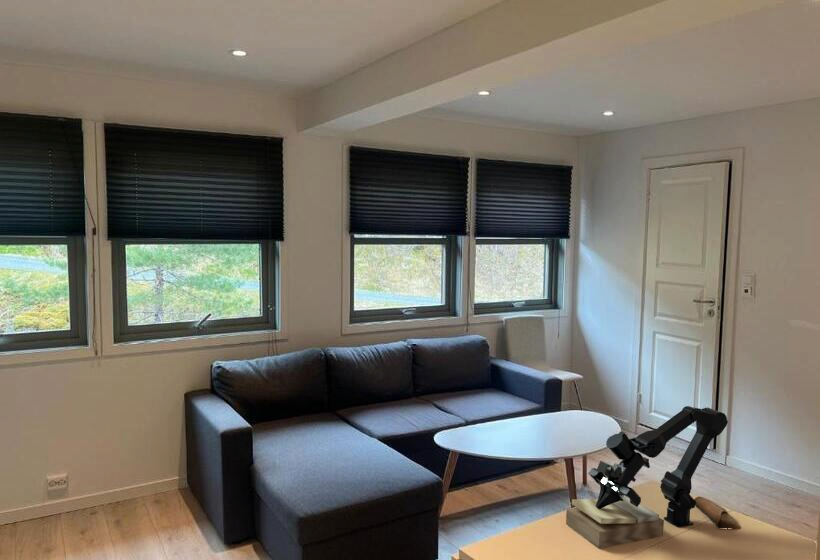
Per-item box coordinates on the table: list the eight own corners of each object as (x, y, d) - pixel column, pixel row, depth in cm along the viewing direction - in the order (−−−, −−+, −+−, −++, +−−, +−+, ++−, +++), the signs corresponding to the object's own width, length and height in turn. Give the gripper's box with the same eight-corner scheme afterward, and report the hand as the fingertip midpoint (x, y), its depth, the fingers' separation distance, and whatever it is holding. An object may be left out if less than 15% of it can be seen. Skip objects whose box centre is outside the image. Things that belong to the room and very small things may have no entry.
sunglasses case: (745, 529, 187) (735, 511, 187) (725, 540, 188) (715, 522, 187) (717, 505, 205) (708, 488, 205) (699, 514, 206) (690, 498, 205)
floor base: (626, 514, 197) (627, 494, 196) (663, 536, 182) (664, 515, 181) (565, 524, 188) (566, 504, 188) (598, 548, 173) (599, 527, 173)
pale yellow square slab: (604, 504, 192) (605, 499, 192) (635, 523, 179) (636, 518, 179) (571, 503, 187) (572, 499, 187) (600, 523, 174) (601, 518, 174)
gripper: (594, 443, 192) (564, 480, 189) (635, 463, 175) (602, 504, 171) (613, 464, 195) (583, 501, 192) (654, 486, 178) (623, 527, 174)
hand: (597, 507), depth 182 cm, fingers closed, pressing on pale yellow square slab
